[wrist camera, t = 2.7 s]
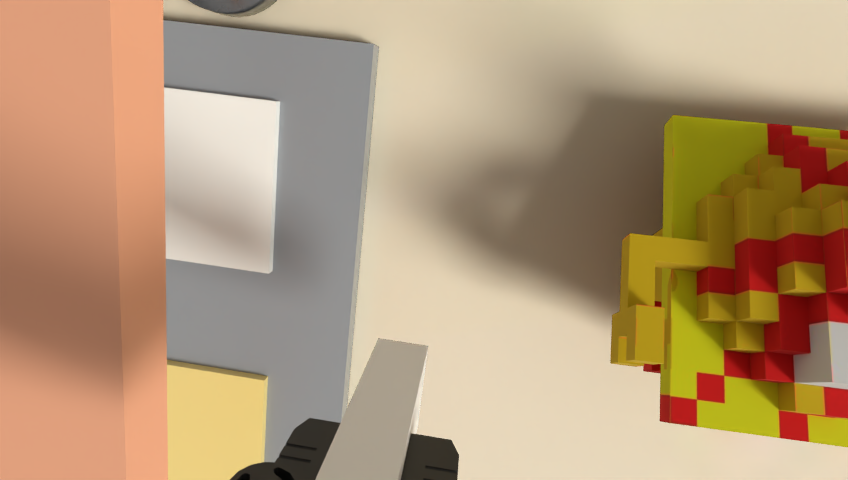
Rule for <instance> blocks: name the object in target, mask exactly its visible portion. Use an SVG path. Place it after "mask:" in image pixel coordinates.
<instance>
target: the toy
mask: <svg viewBox="0 0 848 480" xmlns="http://www.w3.org/2000/svg"><path fill="white" fill-rule="evenodd" d="M611 363H612V364H620V365H628V366H635V367H636V366H644V369H643V371H646V372H654V373H661V377H660V421H662V422H668V423H674V424H682V425H689V426H696V427H704V428H711V429H718V430H726V431H733V432H740V433H748V434H755V435H762V436H770V437H777V438H784V439H791V440H799V441H806V442H813V443H821V444H828V445H835V446H843V447H848V131H845V130H834V129H823V128H812V127H801V126H790V125H779V124H768V123H757V122H745V121H734V120H723V119H712V118H701V117H690V116H679V115H673V116H672V117H671V118H670V119H669V120H668V122H667V123H666V124H665V125H664V175H663V228H662V229H660V230H659V231H658V232H656V233H655V234H654V235H653V236H650V235H641V234H632V233H630V234H629V235H627V236H626V237H625V238H624V239H623V240H622V259H621V287H620V312H618V313H615V314H613V315H612V337H611Z"/></svg>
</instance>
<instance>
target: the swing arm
mask: <svg viewBox="0 0 848 480" xmlns="http://www.w3.org/2000/svg"><path fill="white" fill-rule="evenodd" d="M0 480H168V426H167V329H166V233H165V137H164V40H163V0H0Z"/></svg>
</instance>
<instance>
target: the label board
mask: <svg viewBox="0 0 848 480" xmlns="http://www.w3.org/2000/svg"><path fill="white" fill-rule="evenodd" d="M163 40H164V137H165V233H166V329H167V426H168V480H230V479H231V478H232V477H233V476H234V475H235V474H236V473H237V472H238V471H240V470H242V469H244V468H245V467H247V466H249V465H253V464H257V463H262V462H275V461H276V459H277V458H279V454H280V452H281V451H282V449H283V447H284V446H285V445H286V442H287V440H288V439H289V437H290V435H291V434H292V432H293V430H294V429H295V428H296V427H297V426H299V425H300V424H302V423H303V422H304V421H306V420H307V419H309V418H314V419H320V420H326V421H332V422H338V423H341V421H342V419H343V417H344V414H345V412H346V410H347V401H348V389H349V378H350V367H351V356H352V344H353V333H354V322H355V311H356V299H357V288H358V277H359V266H360V254H361V243H362V232H363V220H364V209H365V198H366V187H367V175H368V164H369V153H370V142H371V130H372V119H373V108H374V97H375V85H376V74H377V63H378V52H379V47H378V46H377V45H375V44H370V43H361V42H352V41H343V40H335V39H326V38H317V37H308V36H299V35H291V34H282V33H273V32H264V31H255V30H247V29H238V28H229V27H220V26H211V25H202V24H194V23H185V22H176V21H167V20H163Z"/></svg>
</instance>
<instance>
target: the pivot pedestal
mask: <svg viewBox="0 0 848 480" xmlns="http://www.w3.org/2000/svg"><path fill="white" fill-rule="evenodd" d="M189 1H190V2H192V3H193V4H195V5H197V6H199V7H202V8H204V9H207V10H210V11H213V12H216V13H219V14H222V15H226V16H231V17H244V16H250V15H254V14H257V13H259V12H261V11H263V10H265V9H267V8H268V7H270V6H271V5H272V4H273V3H275V2H276V1H277V0H189Z"/></svg>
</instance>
